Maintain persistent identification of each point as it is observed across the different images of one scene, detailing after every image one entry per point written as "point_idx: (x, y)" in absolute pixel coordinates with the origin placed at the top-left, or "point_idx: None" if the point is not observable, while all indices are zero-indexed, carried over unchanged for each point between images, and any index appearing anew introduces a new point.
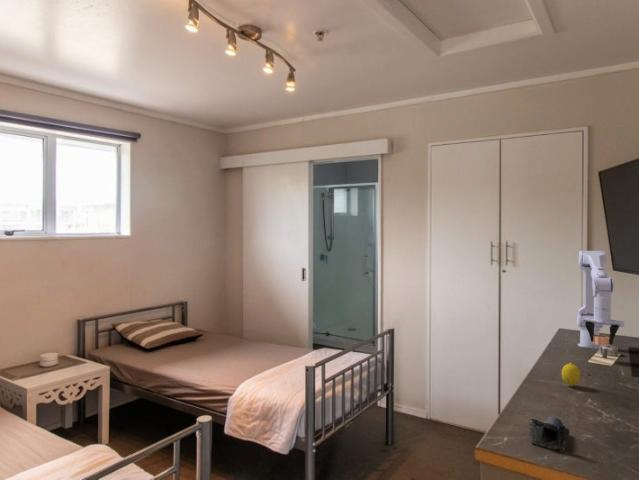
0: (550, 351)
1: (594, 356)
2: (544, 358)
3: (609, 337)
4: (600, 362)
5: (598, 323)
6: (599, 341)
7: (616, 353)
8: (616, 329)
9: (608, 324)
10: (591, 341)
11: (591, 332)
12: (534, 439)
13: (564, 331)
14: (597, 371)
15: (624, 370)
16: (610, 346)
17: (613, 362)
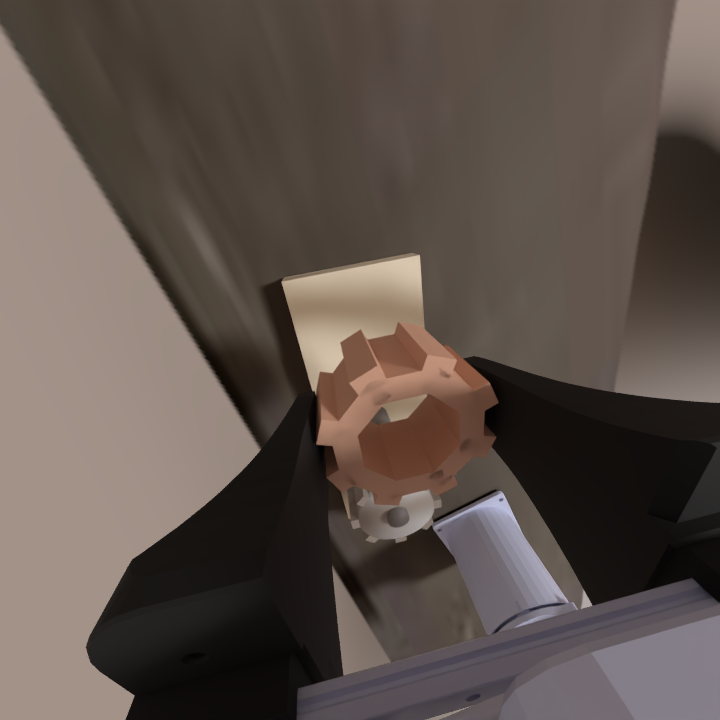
0: (610, 369)
1: (421, 397)
2: (642, 196)
3: (336, 467)
4: (356, 301)
5: (580, 627)
6: (400, 349)
7: (352, 495)
8: (123, 577)
9: (368, 696)
10: (473, 357)
11: (546, 394)
12: None
13: None
14: (319, 148)
15: (232, 322)
16: (391, 528)
17: (307, 364)
